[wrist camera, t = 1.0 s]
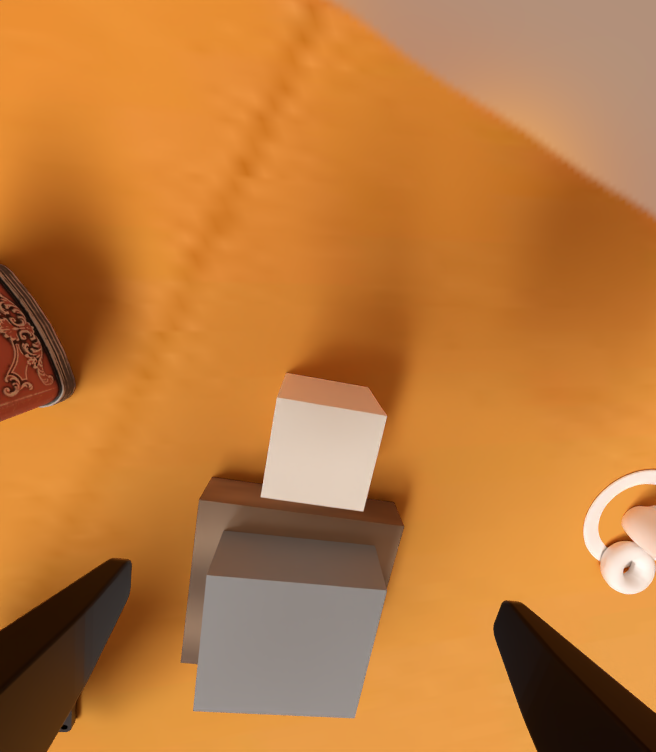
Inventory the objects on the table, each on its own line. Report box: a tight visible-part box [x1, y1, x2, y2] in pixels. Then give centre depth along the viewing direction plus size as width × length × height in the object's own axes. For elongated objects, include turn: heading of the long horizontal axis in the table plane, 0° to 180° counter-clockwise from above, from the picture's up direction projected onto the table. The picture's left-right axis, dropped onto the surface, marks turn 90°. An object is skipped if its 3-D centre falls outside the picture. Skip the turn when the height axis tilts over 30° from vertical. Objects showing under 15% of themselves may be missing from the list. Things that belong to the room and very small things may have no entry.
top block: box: [193, 531, 387, 718], centre depth 18 cm, size 9×9×3 cm
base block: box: [181, 477, 404, 664], centre depth 21 cm, size 12×12×3 cm
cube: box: [261, 373, 387, 511], centre depth 17 cm, size 5×5×5 cm
